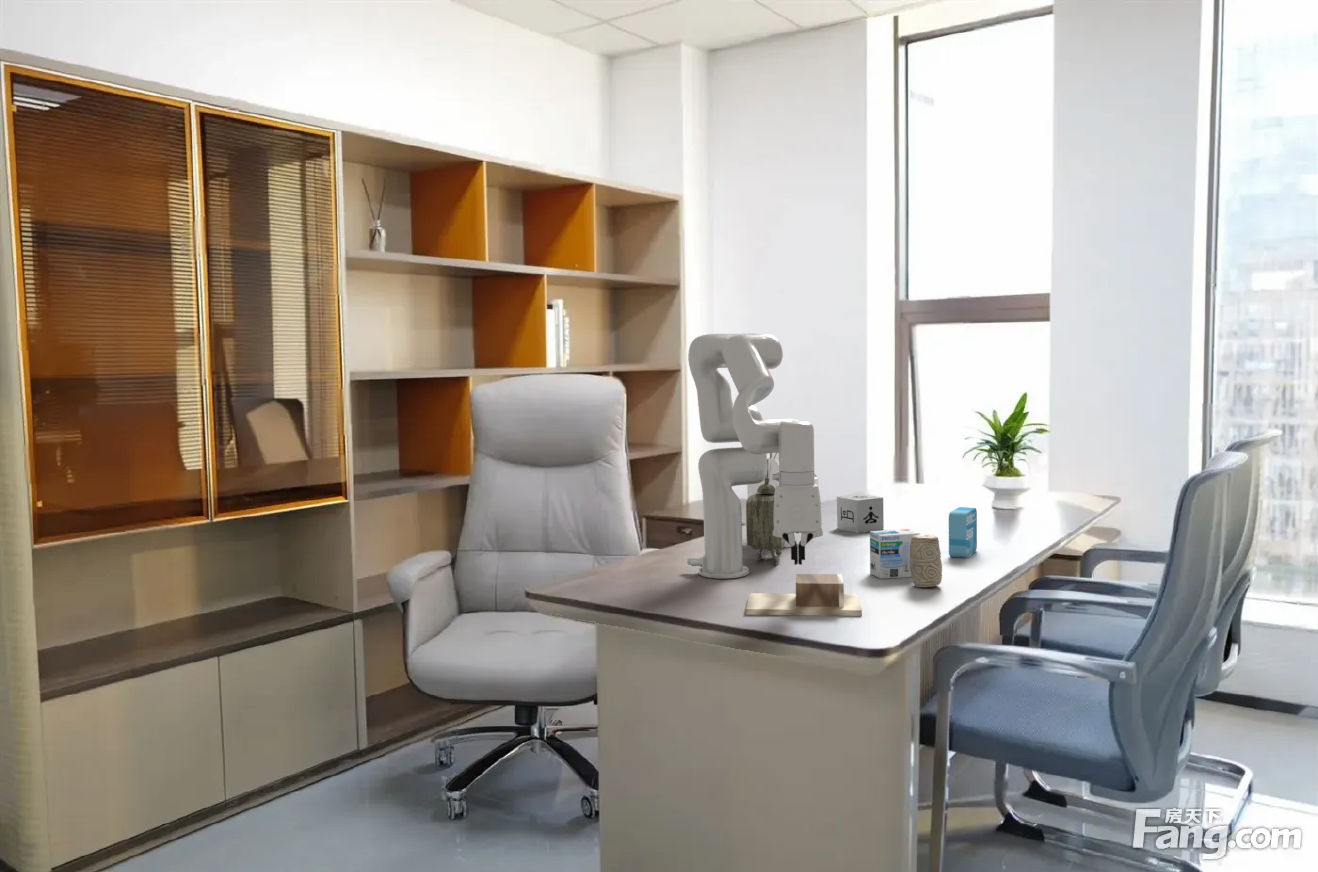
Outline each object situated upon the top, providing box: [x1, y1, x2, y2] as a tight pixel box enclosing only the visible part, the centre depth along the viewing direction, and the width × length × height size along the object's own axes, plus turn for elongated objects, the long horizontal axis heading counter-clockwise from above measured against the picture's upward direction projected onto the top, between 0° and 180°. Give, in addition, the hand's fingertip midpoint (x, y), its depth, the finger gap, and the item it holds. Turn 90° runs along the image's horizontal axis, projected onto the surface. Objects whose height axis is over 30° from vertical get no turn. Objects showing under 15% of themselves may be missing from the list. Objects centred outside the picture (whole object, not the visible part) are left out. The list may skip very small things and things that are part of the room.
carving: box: [909, 533, 943, 588], centre depth 229 cm, size 6×8×12 cm
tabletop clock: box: [745, 467, 785, 565], centre depth 263 cm, size 14×9×25 cm, turn 168°
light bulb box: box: [869, 528, 921, 580], centre depth 242 cm, size 11×7×11 cm, turn 101°
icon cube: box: [836, 493, 885, 534], centre depth 306 cm, size 10×10×10 cm
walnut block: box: [795, 573, 845, 607], centre depth 214 cm, size 5×9×10 cm
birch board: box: [745, 592, 863, 617], centre depth 214 cm, size 24×14×1 cm, turn 81°
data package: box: [948, 506, 978, 559], centre depth 265 cm, size 12×4×12 cm, turn 149°
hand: (798, 563), depth 214 cm, fingers closed
